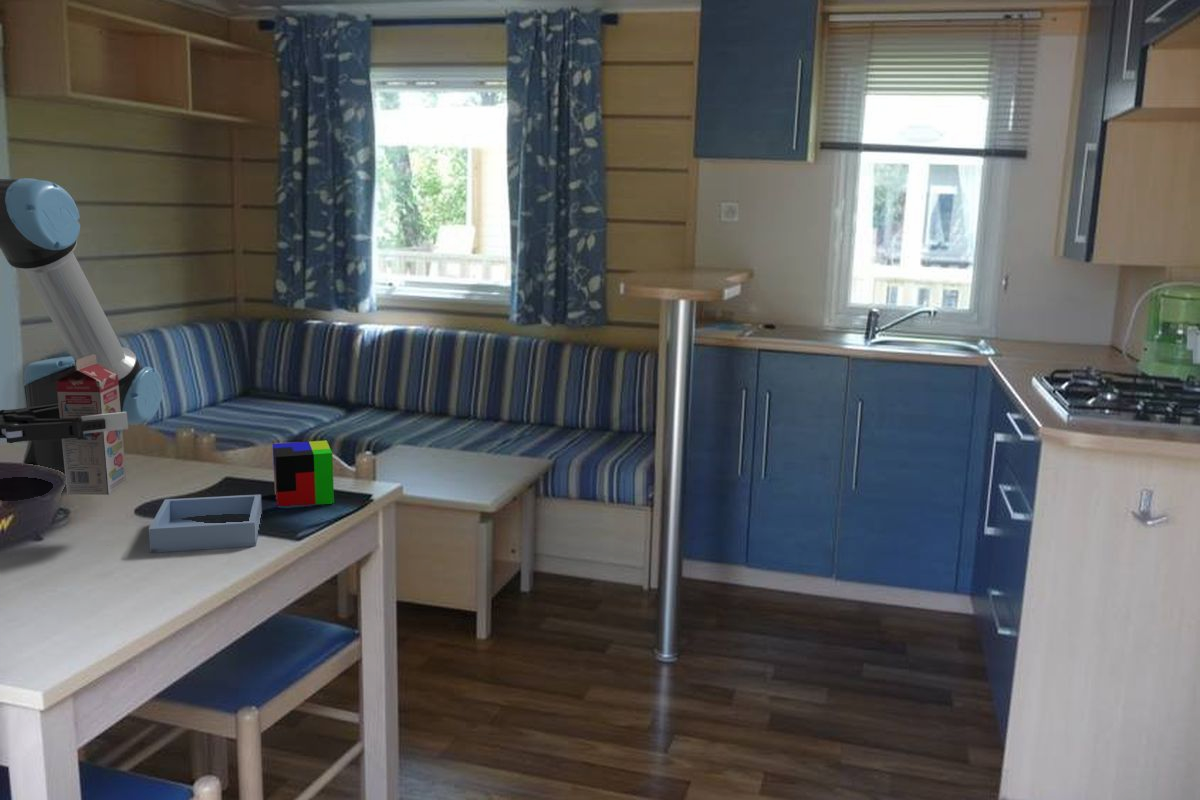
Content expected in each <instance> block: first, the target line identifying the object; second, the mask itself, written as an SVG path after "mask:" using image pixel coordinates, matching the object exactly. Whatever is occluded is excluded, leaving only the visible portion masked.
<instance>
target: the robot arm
mask: <svg viewBox="0 0 1200 800" xmlns="http://www.w3.org/2000/svg"><path fill="white" fill-rule="evenodd" d="M79 212H80V211H79V209H78V206H77V204H76V203H75V201H74V199H73V198H72V196H71V195H70V193H68V192H67V191H66V189H64V188H63V187H62V186H60V185H59V184H57V183H55V182H52V181H49V180H43V179H41V180H40V179H36V178H31V177H30V178H27V177H25V178H18V179H15V178H14V179H13V178H12V179H11V178H10V179H9V178H0V250H1V252H2V254H3V256H4V257H5V260H7V263H8V264H9V265H10V266H11V268H12V269H13V268H14V269H16V270H19V271H23V272H24V273H25V276H26V277H27V279H28V280H29V282H30V284H31V285H32V287H33V289H34V291H35V293H36V295H37V296H38V299H39V300H40V301H41V304H42V305H43V307H44V309H45V311H46V312H47V315H48V316H49V318H50V319H51V322H52V323H53V324H54V327H55V328H56V330H57V332H58V333H59V335H60V338H61V339H62V340H63V342H64V344H65V346H66V348H67V350H68V352H69V353H70V355H71V356H60V357H54V358H49V359H44V360H43V359H42V360H38V361H33V362H30V363H29V364H27V365H26V366H25V368H24V371H23V375H24V376H23V377H24V378H23V379H24V383H23V387H24V394H25V403H26V404H25V405H26V407H22V408H14V409H0V439H6V443H7V444H14V443H18V442H27V443H26V447H25V448H26V449H25V452H24V456H23V459H22V464H23V463H24V464H33V465H40V466H44V467H48V468H52V469H55V470H59V471H61V472H63V473H64V474H65V467H64V456H63V446H62V439H65V438H78V440H80V439H84V437H83V434H86V433H95V432H104V431H113V430H122V431H123V430H128V429H129V426H130V425H143V424H146V423H148V422H150V420H152V419H153V418H154V416H155V415H156V414H157V411H158V409H159V408H160V406H161V402H162V398H163V397H162V396H163V381H162V376H161V374H160V373H159V371H158V370H157V369H156V368H153V367H150V366H147V365H146V366H142V365H141V363H140V361H139V360H138V358H137V355H136V354H135V353H134V352H133V351H132V350H131V349H129V348H128V347H122V344H121V343H120V341H119V339H118V337H117V335H116V333H115V331H114V329H113V327H112V325H111V323H110V322H109V319H108V317H107V316H106V314H105V312H104V310H103V308H102V306H101V304H100V302H99V300H98V298H97V296H96V295H95V292H94V290H93V288H92V286H91V284H90V282H89V281H88V279H87V277H86V275H85V273H84V271H83V269H82V267H81V265H80V263H79V261H78V259H77V258H76V255H75V254H74V251H75V249H76V248H77V244H78V237H79V234H80V231H81V223H80V222H79V221H78V220H80V219H81V218H80V217H81V216H80V213H79ZM93 354H96V360H97V364H99V365H101V366H103V367H105V368H107V369H109V370H112V371H114V372H115V373H117V374H118V383H119V396H120V408H121V412H117V413H107V414H97V415H87V416H81V418H60V414H59V404H58V393H57V382H56V381H58V380H59V379H60V378H62V377H64V376H66V375H68V374H70V373H72V372H74V371H76V368H75V360H78V359H81V358H84V357H86V356H89V355H93Z"/></svg>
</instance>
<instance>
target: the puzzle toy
mask: <svg viewBox="0 0 1200 800" xmlns="http://www.w3.org/2000/svg"><path fill="white" fill-rule="evenodd" d="M272 456H273V457H272V459H273V461H272V462H273V476H274V477H273V479H274V481H273V482H274V496H275V495H276V497H275V500H277V501H276V505H277V504H278V506H291V505H308V504H309V505H310V504H332V503H334V504H335V496H334V495H335V494H334V491H335V490H334V487H335V486H334V465H333V464H334V463H333V461H334V460H333V451H332V449H331V448H330V445H329V443H328V440H326V439H325V440H313V441H297V442H284V443H272ZM332 505H333V504H332ZM278 506H277V507H278Z"/></svg>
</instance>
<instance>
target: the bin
mask: <svg viewBox="0 0 1200 800" xmlns="http://www.w3.org/2000/svg"><path fill="white" fill-rule="evenodd" d="M262 505H263V504H262V494H244V495H243V494H241V495H224V496H222V495H221V496H206V497H188V498H168V499H167V498H166V499H164V500H163V503H162V504H161V505H160V508H159V509H158V511H157V513H156V515H155V517H154V518H153V521H152V522H151V524H150V526H149V528H148V536H149V549H150V553H151V554H153V553H167V552H169V553H170V552H181V551H182V552H183V551H198V550H212V549H213V550H214V549H215V550H216V549H227V548H229V549H231V548H246V547H256V546H257V542H258V536H259V533H258V530H259V531H260V528H259V524H260V525H261V523H260V518H261V514H262V515H263V506H262ZM222 514H250V517H249V521H243V522H226V523H204V522H196V521H192V520H182V518H187V517H195V516H206V515H222ZM180 518H181V519H180Z"/></svg>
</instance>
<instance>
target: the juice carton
mask: <svg viewBox="0 0 1200 800" xmlns="http://www.w3.org/2000/svg"><path fill="white" fill-rule="evenodd" d="M75 368H76V371H74V372H72V373H70V374H68V375H66V376H64V377H62V378H60V379H59V380H58V381H56V382H57V393H58V404H59V414H60V418H81V416H87V415H97V414H107V413H117V412H121V408H120V396H119V383H118V374H117V373H115V372H114V371H112V370H109V369H107V368H105V367H103V366H101V365H99V364H97V360H96V354H93V355H89V356H86V357H84V358H81V359H78V360H75ZM123 433H124V432H123V429H122V430H113V431H104V432H95V433H86V434H83V437H84V439H80V440H78V438H65V439H62V446H63V456H64V467H65V486H66V494H67V495H87V496H89V495H95V496H96V495H99V496H100V495H101V496H102V495H103V496H107V495H108V496H109V495H111V494H112V493H113V492H116V490H118V489H120V488H121V487H123V486H124V485H126V484H127V473H126V458H125V446H124V434H123Z"/></svg>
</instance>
